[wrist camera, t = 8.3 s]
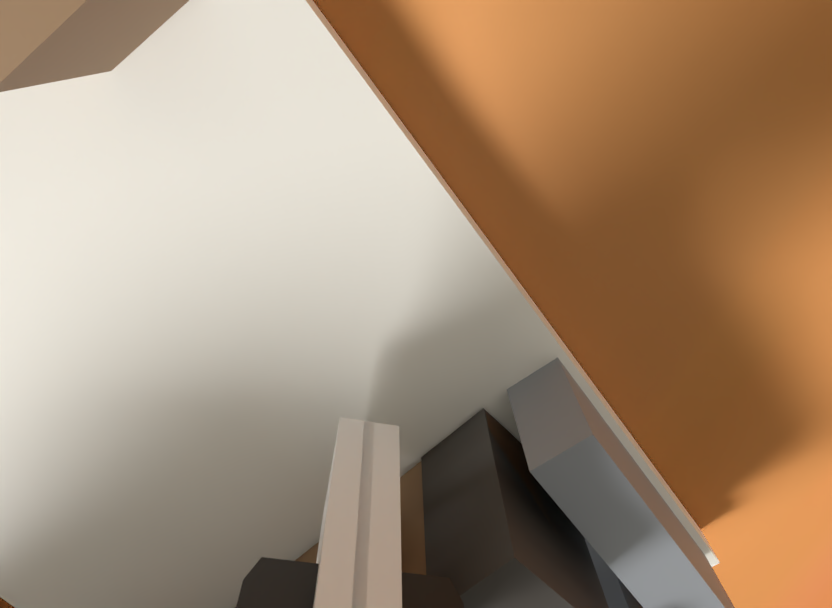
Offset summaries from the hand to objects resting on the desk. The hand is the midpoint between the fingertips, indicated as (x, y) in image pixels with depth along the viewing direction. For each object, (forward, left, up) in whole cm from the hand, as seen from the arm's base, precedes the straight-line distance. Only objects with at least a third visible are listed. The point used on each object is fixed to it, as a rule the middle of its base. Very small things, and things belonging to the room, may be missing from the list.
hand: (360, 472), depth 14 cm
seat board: (-2, -3, -3) cm, 4 cm away
